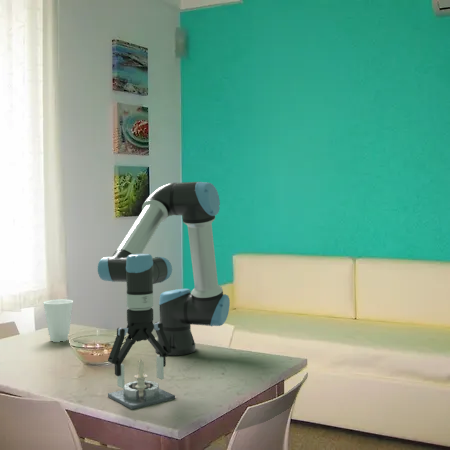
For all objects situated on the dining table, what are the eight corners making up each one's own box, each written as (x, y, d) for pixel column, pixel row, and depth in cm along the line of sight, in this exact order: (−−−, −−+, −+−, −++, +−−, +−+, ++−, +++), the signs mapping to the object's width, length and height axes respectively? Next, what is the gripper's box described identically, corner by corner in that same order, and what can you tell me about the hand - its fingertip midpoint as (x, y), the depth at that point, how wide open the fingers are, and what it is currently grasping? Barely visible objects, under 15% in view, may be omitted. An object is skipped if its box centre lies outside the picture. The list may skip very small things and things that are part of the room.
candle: (128, 396, 171) (128, 359, 171) (136, 390, 176) (137, 355, 176) (144, 398, 169) (144, 361, 169) (153, 392, 174) (153, 357, 174)
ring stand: (108, 396, 174) (107, 384, 174) (149, 387, 183) (149, 375, 183) (131, 409, 163) (131, 396, 163) (175, 398, 172) (174, 386, 172)
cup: (38, 343, 242) (38, 303, 242) (52, 336, 254) (51, 299, 254) (66, 343, 241) (65, 304, 240) (78, 337, 252) (77, 299, 252)
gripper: (107, 315, 161) (108, 394, 162) (182, 305, 176) (183, 377, 177) (95, 311, 167) (96, 387, 168) (168, 301, 182) (169, 372, 183)
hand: (141, 382), depth 173 cm, fingers open, 12 cm apart
